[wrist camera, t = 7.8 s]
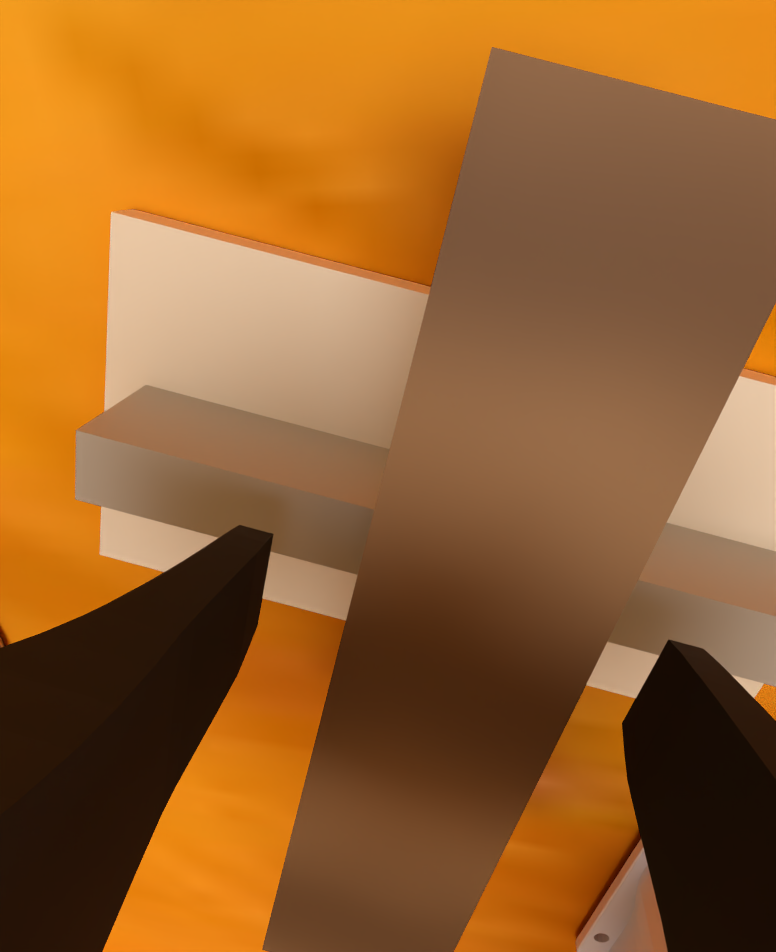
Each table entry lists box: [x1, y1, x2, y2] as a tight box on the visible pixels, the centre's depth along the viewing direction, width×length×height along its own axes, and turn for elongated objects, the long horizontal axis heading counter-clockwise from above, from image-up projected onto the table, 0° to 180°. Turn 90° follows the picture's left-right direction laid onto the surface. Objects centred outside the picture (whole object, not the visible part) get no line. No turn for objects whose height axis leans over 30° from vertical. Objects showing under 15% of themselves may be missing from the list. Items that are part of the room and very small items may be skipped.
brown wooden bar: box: [262, 47, 776, 952], centre depth 11 cm, size 16×4×4 cm, turn 167°
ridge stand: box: [75, 209, 776, 698], centre depth 15 cm, size 9×18×4 cm, turn 77°
